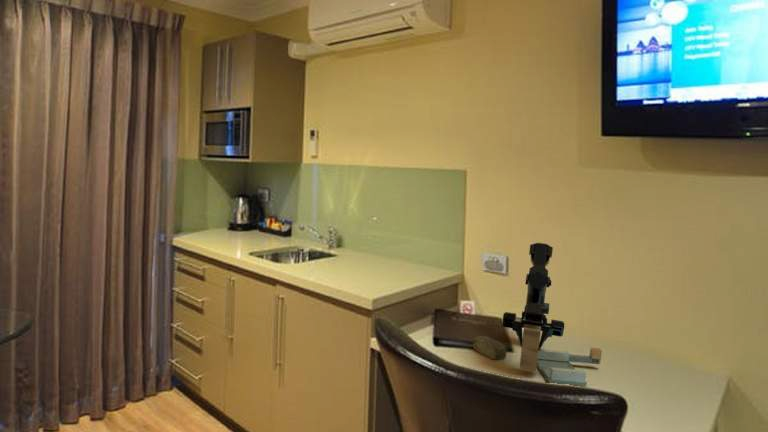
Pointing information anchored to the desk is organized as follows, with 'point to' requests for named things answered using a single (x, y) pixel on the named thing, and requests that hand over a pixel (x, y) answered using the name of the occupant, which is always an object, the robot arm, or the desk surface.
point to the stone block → (489, 347)
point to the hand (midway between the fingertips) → (530, 348)
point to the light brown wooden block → (571, 356)
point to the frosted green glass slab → (561, 372)
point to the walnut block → (530, 347)
